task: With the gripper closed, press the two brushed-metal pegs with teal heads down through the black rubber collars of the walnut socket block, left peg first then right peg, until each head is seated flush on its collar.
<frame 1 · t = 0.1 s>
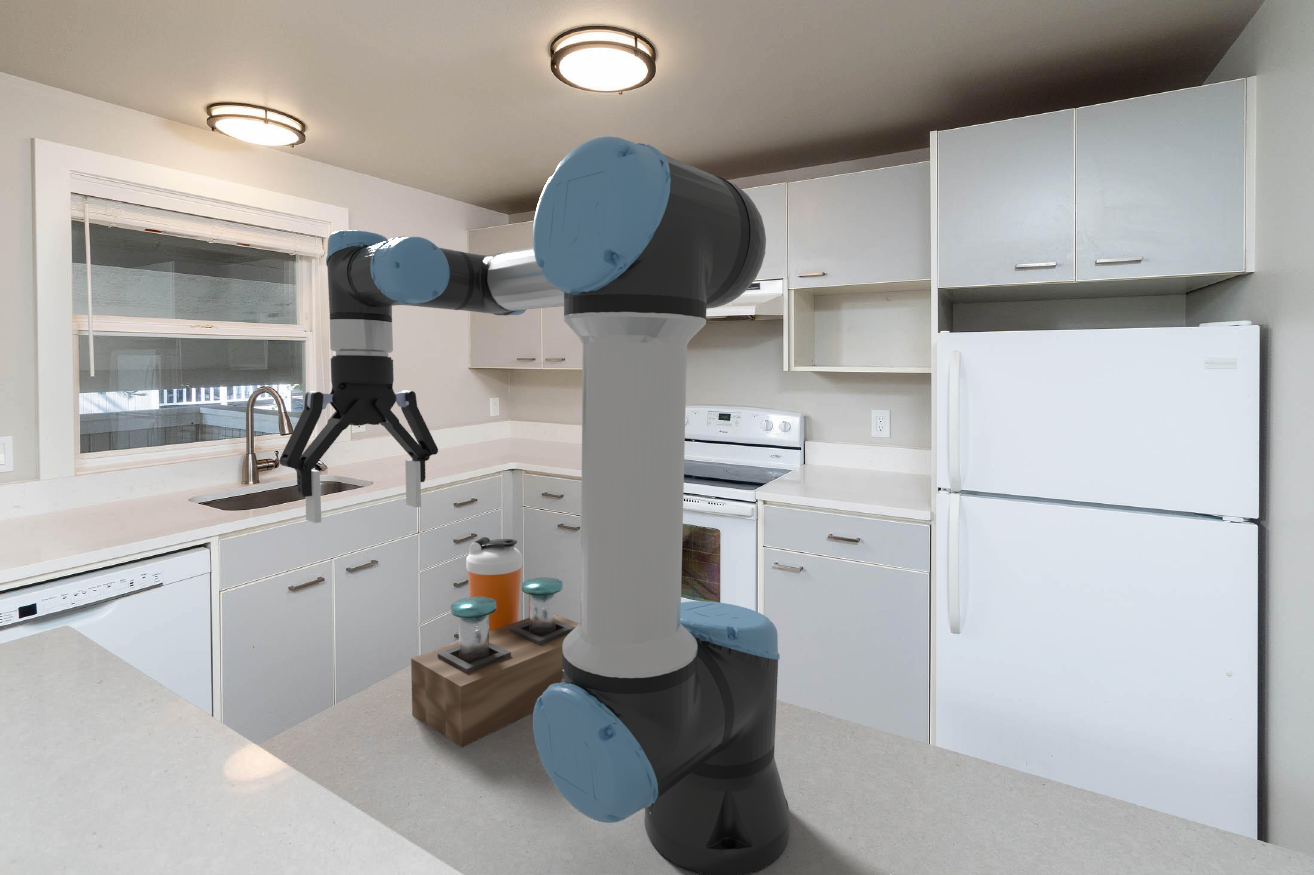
hand: (366, 513, 87), 28 cm above the countertop, fingers open, 13 cm apart
socket block: (510, 696, 94), on the countertop
peg left: (474, 635, 89), point 11 cm above the countertop, slide at 6.0 cm
shaker bottle: (495, 660, 106), on the countertop
peg right: (542, 612, 98), point 11 cm above the countertop, slide at 6.0 cm
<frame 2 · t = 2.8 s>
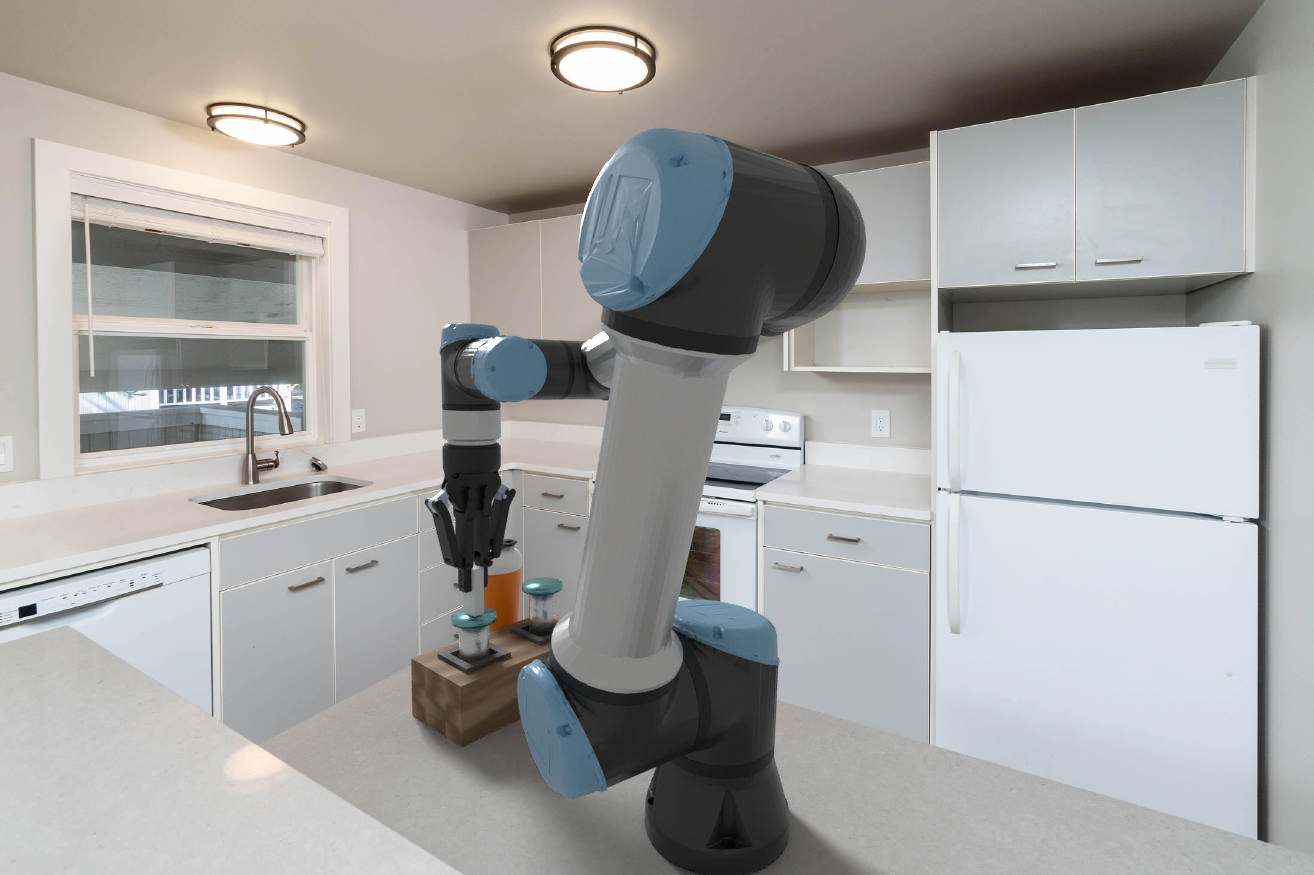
hand: (473, 612, 88), 14 cm above the countertop, fingers closed
peg left: (474, 646, 89), point 10 cm above the countertop, slide at 4.5 cm, touching gripper
everything else where it was.
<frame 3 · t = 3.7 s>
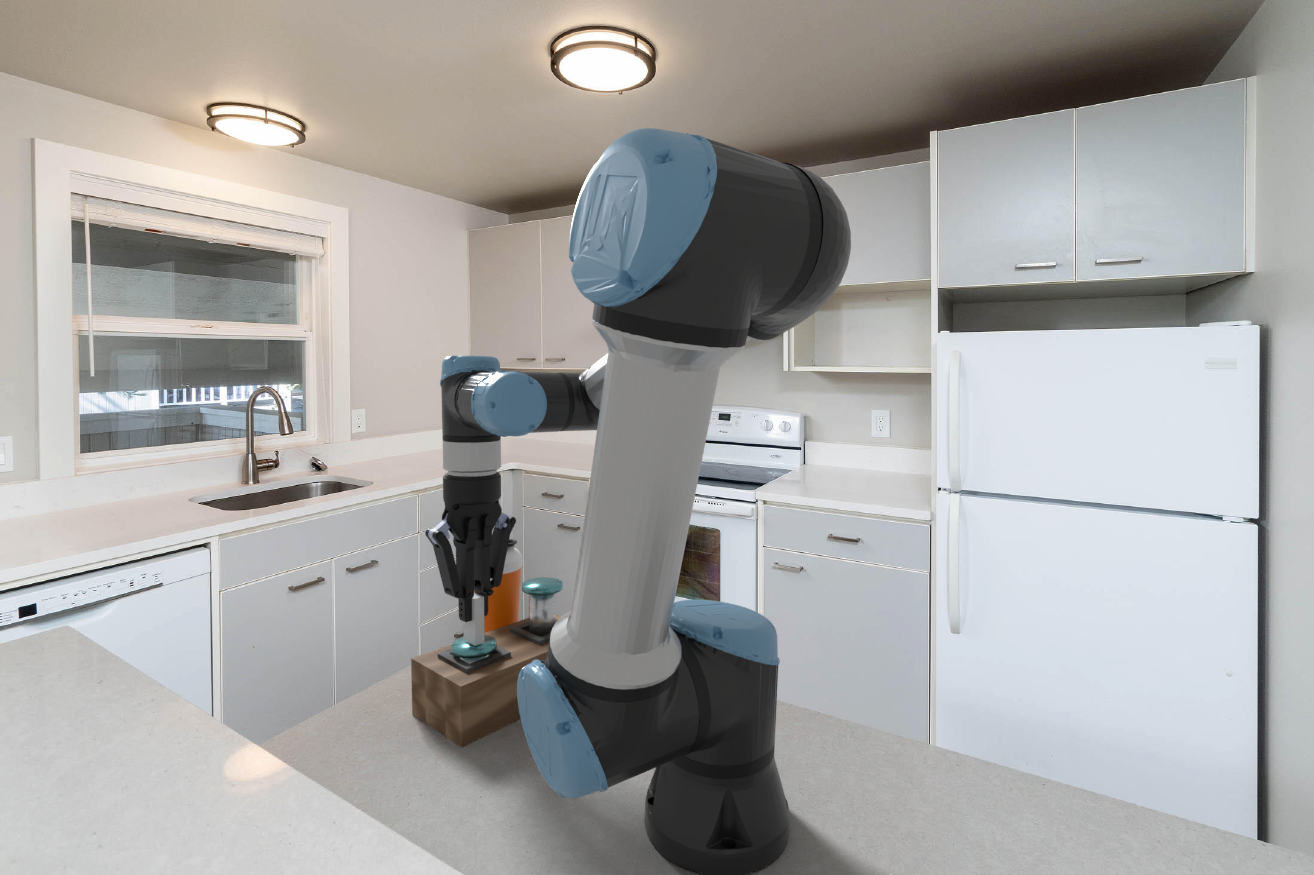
hand: (473, 641, 89), 10 cm above the countertop, fingers closed
peg left: (474, 674, 89), point 6 cm above the countertop, slide at 0.5 cm, touching gripper
everything else where it was.
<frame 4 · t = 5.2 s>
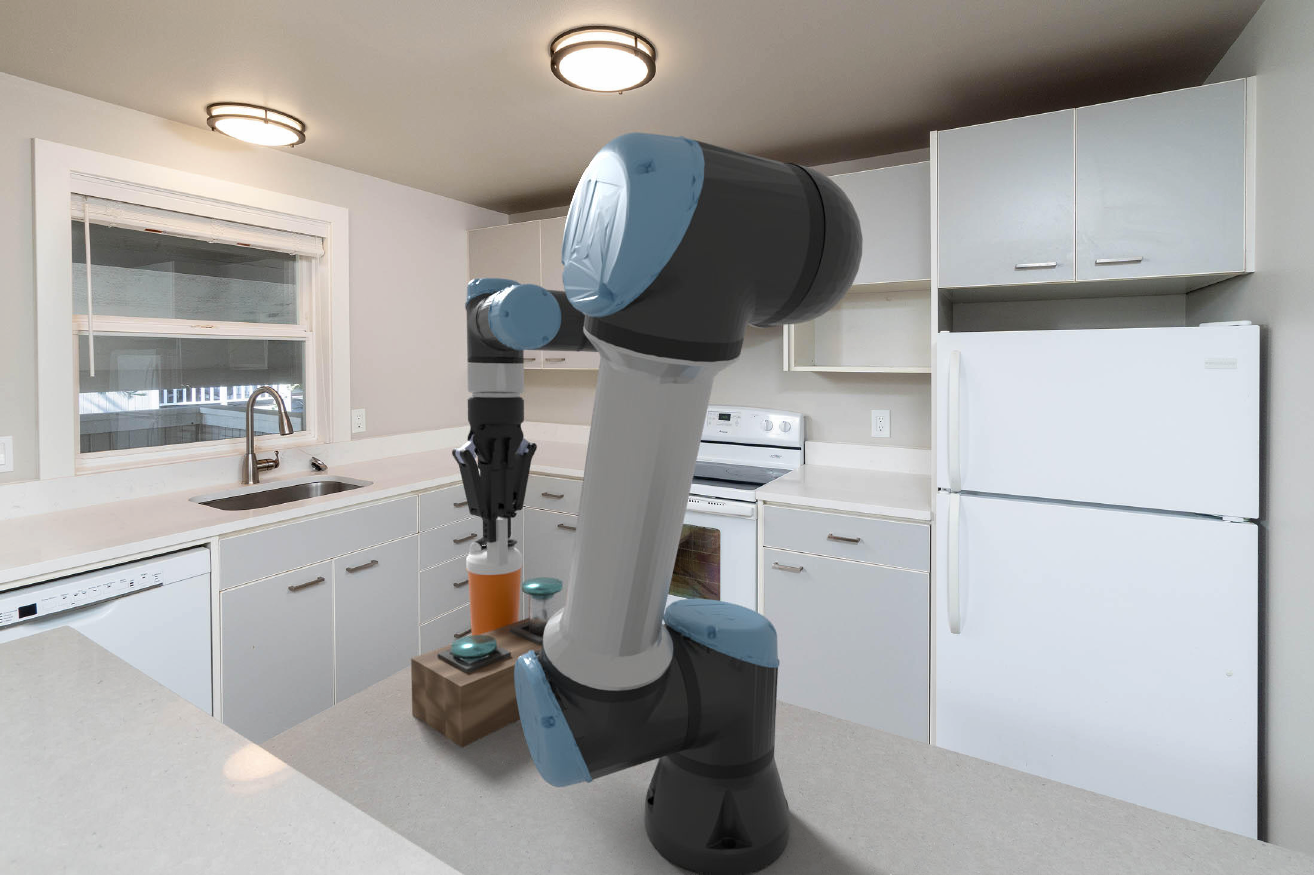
hand: (497, 563, 91), 20 cm above the countertop, fingers closed
peg left: (474, 674, 89), point 5 cm above the countertop, slide at 0.4 cm
everything else where it was.
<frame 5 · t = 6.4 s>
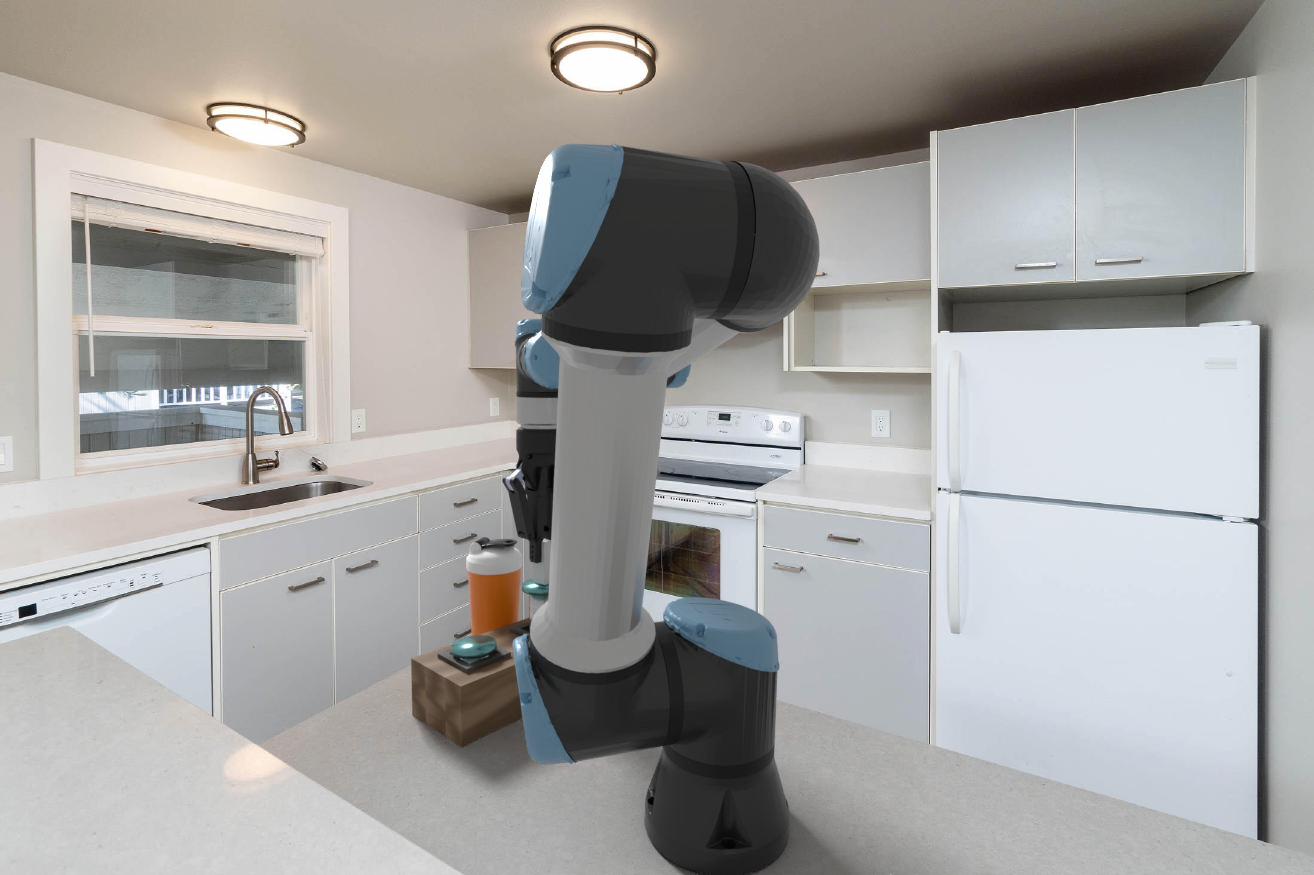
hand: (542, 581, 97), 16 cm above the countertop, fingers closed
peg right: (542, 612, 98), point 11 cm above the countertop, slide at 6.0 cm, touching gripper
everything else where it was.
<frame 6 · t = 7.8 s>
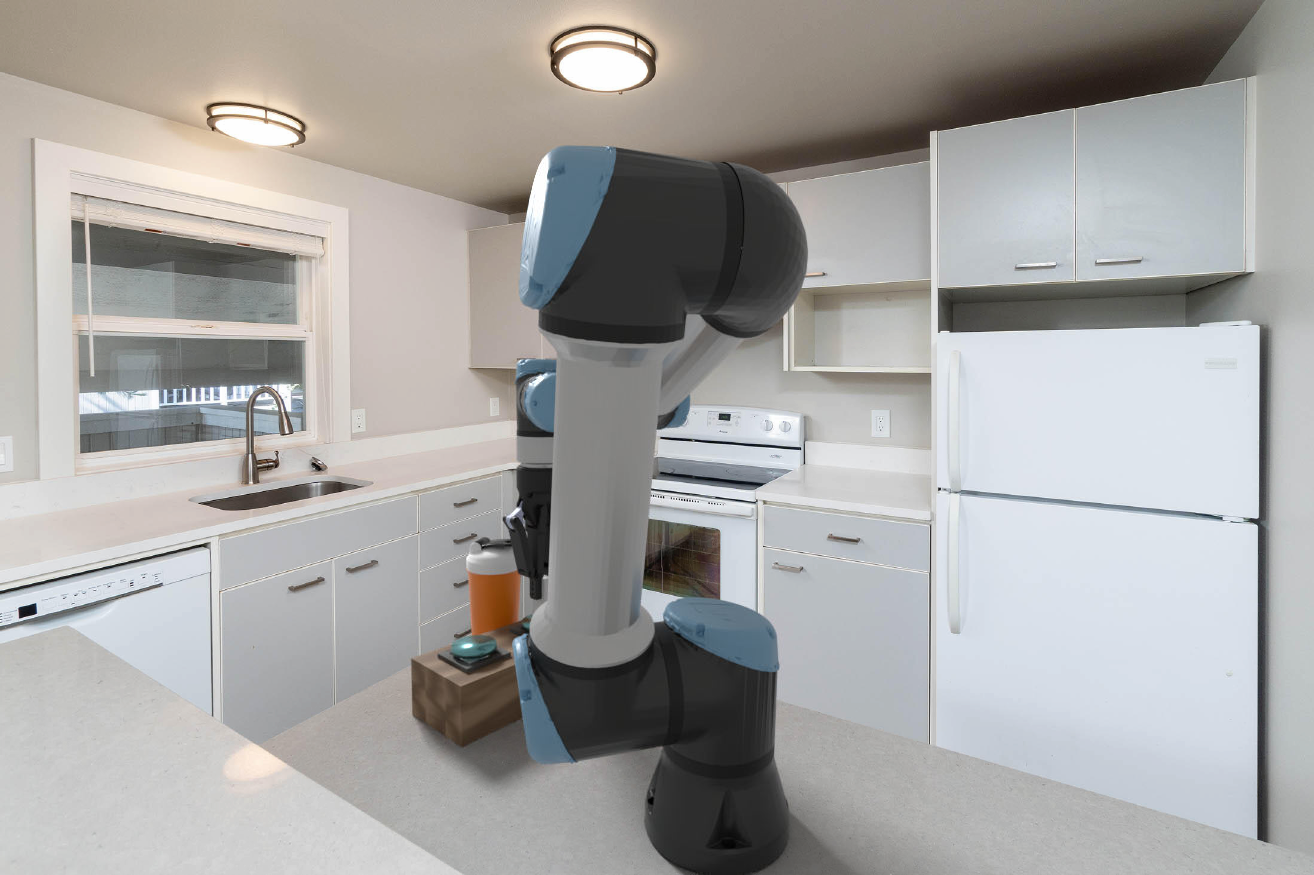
hand: (542, 617, 98), 10 cm above the countertop, fingers closed
peg right: (542, 647, 98), point 5 cm above the countertop, slide at 0.4 cm, touching gripper
everything else where it was.
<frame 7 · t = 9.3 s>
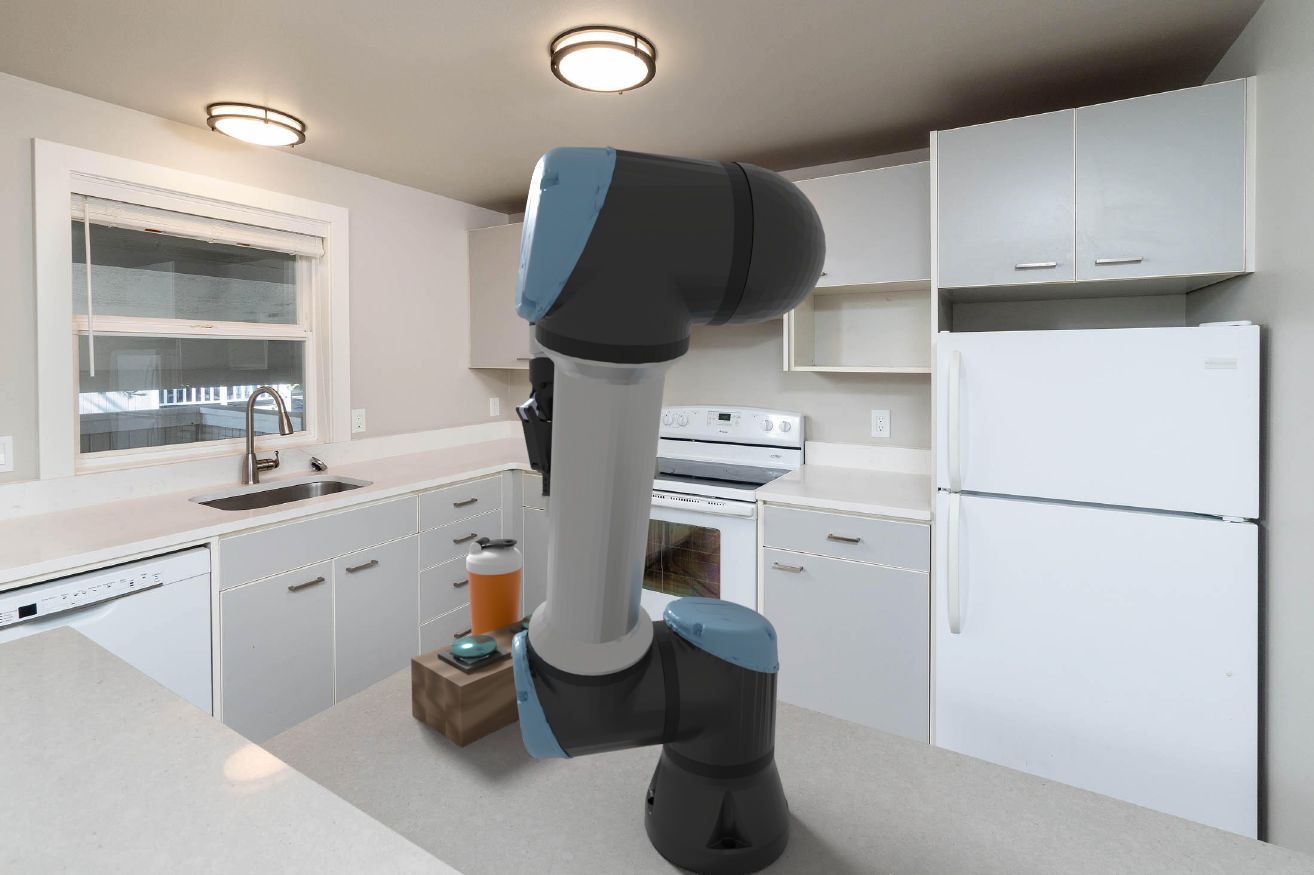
hand: (555, 516, 96), 26 cm above the countertop, fingers closed
peg right: (542, 647, 98), point 5 cm above the countertop, slide at 0.4 cm
everything else where it was.
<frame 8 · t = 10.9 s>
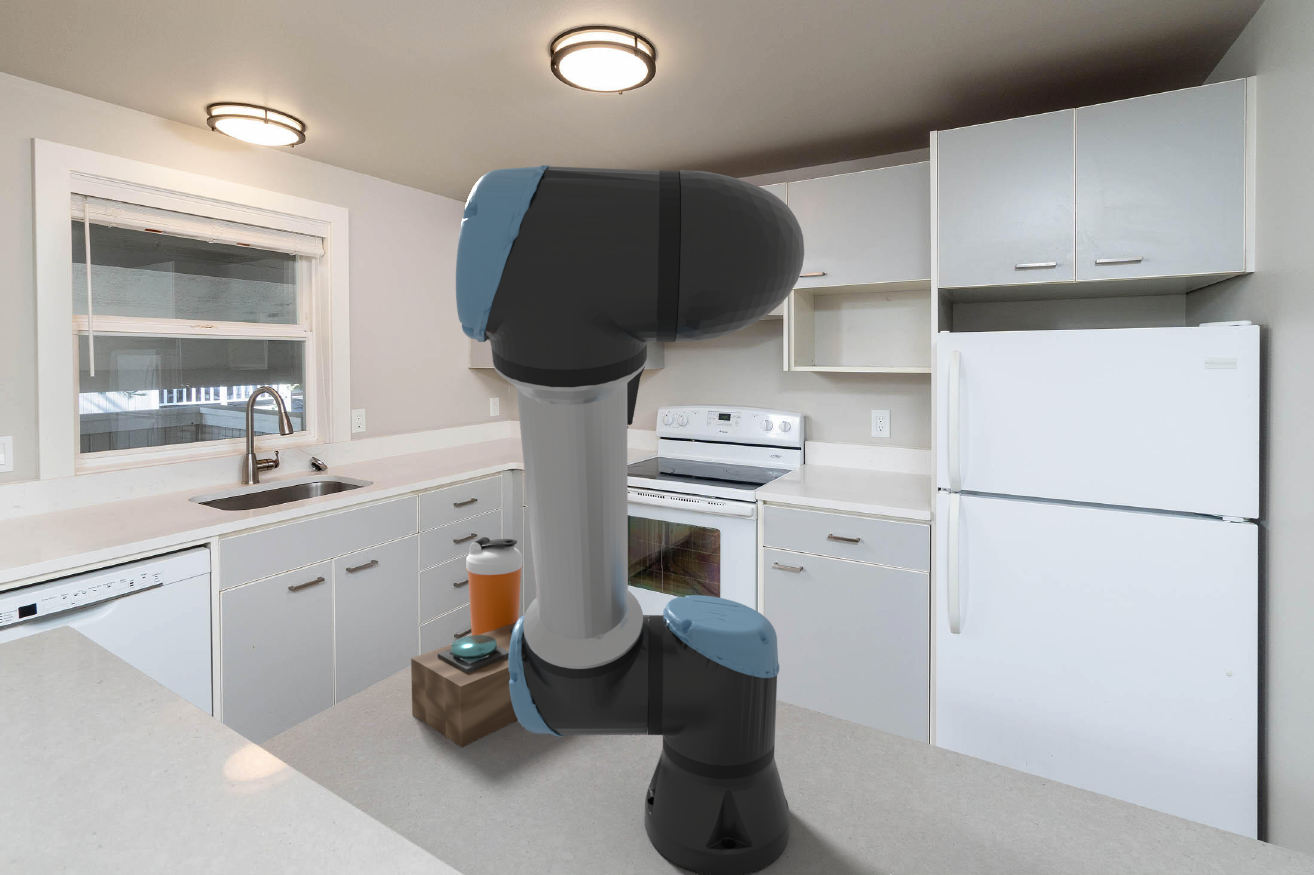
hand: (609, 474, 95), 32 cm above the countertop, fingers closed
nothing on the countertop moved.
at the end: peg left slide at 0.4 cm; peg right slide at 0.4 cm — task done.
